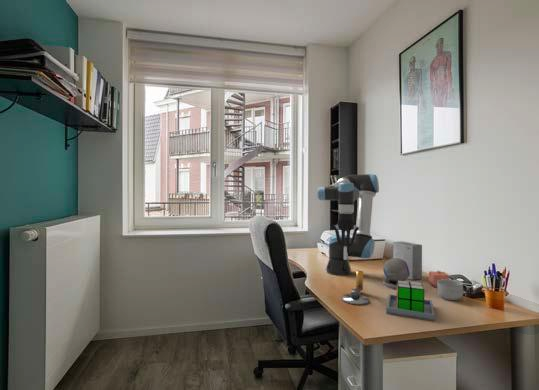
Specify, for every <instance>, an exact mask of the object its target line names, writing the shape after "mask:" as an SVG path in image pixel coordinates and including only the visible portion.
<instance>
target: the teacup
mask: <svg viewBox="0 0 539 390" xmlns="http://www.w3.org/2000/svg"><path fill="white" fill-rule="evenodd" d="M437 293H438V295H439V296H440V297H441V298H442V299H444V300H448V301H458V300H460V299H461V298H462V297H463V296H464V283H463V282H462V281H460V280H457V279H450V280H448V279H445V280H444V279H442V280H438V281H437Z"/></svg>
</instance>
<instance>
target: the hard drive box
mask: <svg viewBox="0 0 539 390" xmlns="http://www.w3.org/2000/svg"><path fill="white" fill-rule="evenodd" d="M392 258H400V259H402V260H404V261H405V262H406V264H407V266H408V269H409V277H408V278H407V279H408V280H411V281H415V280H420V279H421V280H422V278H423V244H418V243H414V242H409V241H408V242H407V241H402V240H399V241H392Z"/></svg>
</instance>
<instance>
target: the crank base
mask: <svg viewBox="0 0 539 390" xmlns="http://www.w3.org/2000/svg"><path fill="white" fill-rule="evenodd" d="M341 300H342V302H343V303H346V304H349V305H354V306H364V305H367V304H369V302H370V298H369V297H367V296H366V295H362V294H360V298H358V299H356V298H352V297H351V293H345V294H343V295H342V296H341Z"/></svg>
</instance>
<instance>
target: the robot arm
mask: <svg viewBox="0 0 539 390" xmlns="http://www.w3.org/2000/svg"><path fill="white" fill-rule="evenodd" d="M379 188H380V186H379V179H378V176H377V175H376V174H373V173H367V174H349V175H346V176H343V177H341V178H339V179H338V180H337V181H336V182H335V183H333V184H330V185H328V186H320V187H318V189H317V199H318V200H320V201H338V216H337V217H338V218H337V219H338V220H337V224H335V225H333V227H332V228H333V230H334V232H335V234H334V235H331V236H330V237H329V241H328V242H329V243H328V249H329V251H328V253H329V254H328V255H329V257H328V262H327V265H326V268H325V269H326V271H327V272H326V273H328V274H330V273H331V275H336V276H346V275H351V274H352V268H351V264H350V261H349V257H350V258H360V259H371V257H372V256H373V255H374V250H375V244H376V242H375V239H373V236H372V234H370V233H371V226H372V225H371V224H372V214H373V213H372V211H373V203H374V202H373V199H374V198H375V197H376V195H377V193H379V190H380V189H379ZM356 200H358V203H357V212H356V221H355V220H354V216H355V215H354V214H355V213H354V212H355V209H354V207H355V206H354V205H355V203H354V202H355V201H356ZM355 223H356V224H355ZM339 229H340V230H341V234H340V232H339ZM351 230H353V233H352V235H351Z"/></svg>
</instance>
